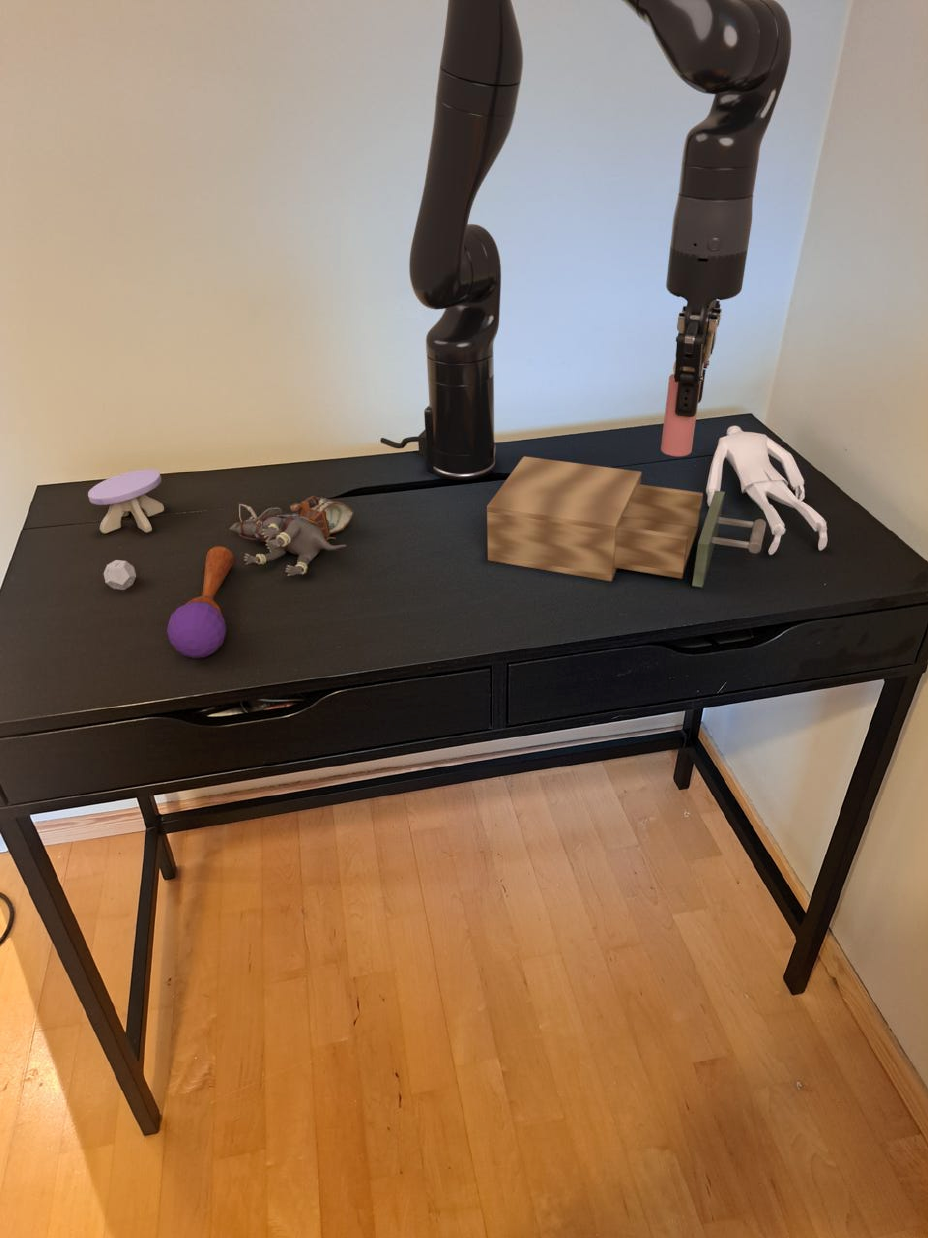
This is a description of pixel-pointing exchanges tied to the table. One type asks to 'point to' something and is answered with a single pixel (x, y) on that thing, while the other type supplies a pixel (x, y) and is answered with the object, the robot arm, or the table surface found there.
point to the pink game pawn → (677, 423)
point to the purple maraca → (202, 611)
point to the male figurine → (764, 479)
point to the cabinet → (560, 517)
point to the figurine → (295, 530)
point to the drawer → (674, 532)
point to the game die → (119, 575)
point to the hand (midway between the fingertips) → (688, 407)
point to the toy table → (127, 498)
